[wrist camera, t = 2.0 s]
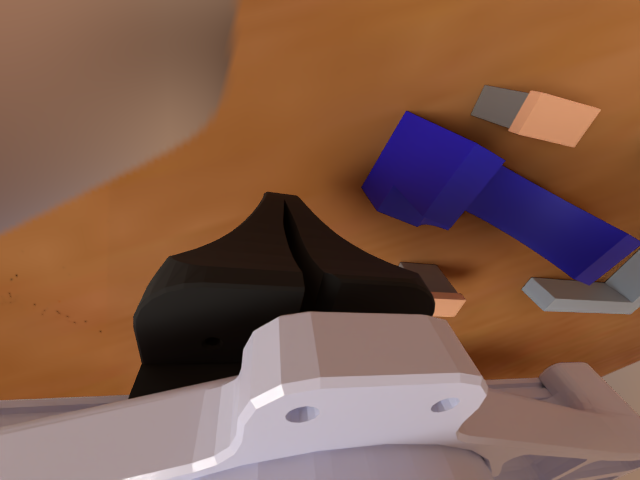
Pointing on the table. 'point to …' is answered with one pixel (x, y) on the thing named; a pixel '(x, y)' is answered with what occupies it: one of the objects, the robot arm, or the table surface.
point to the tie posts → (524, 119)
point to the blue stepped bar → (487, 199)
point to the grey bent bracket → (590, 292)
